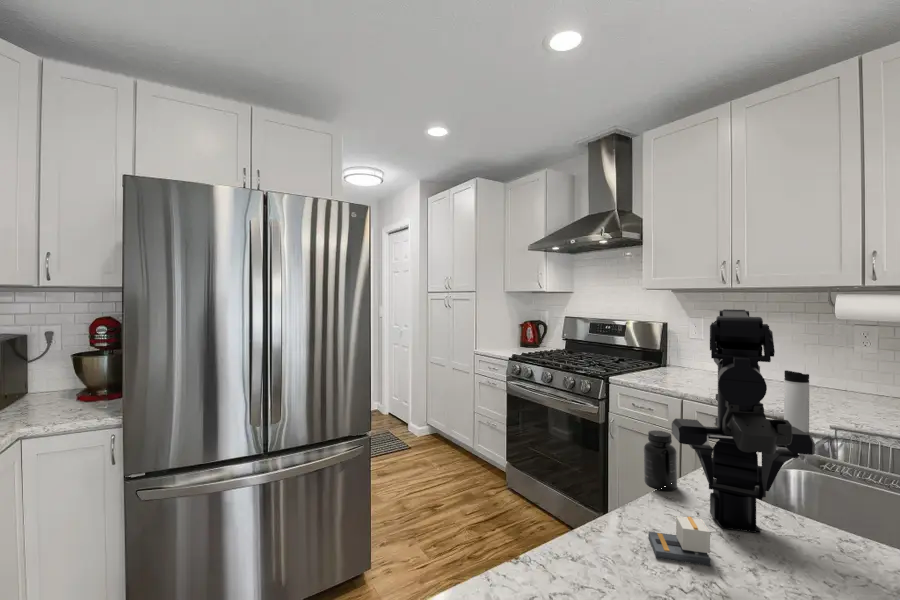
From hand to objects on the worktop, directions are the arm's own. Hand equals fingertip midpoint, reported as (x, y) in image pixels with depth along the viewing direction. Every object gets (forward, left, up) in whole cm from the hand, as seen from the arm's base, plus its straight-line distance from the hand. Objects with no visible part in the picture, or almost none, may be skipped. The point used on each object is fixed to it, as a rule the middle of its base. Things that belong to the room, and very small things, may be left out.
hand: (737, 487), depth 69 cm
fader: (+7, 0, -10) cm, 12 cm away
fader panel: (+9, 0, -12) cm, 15 cm away
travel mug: (-45, -80, -12) cm, 93 cm away
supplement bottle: (+6, -27, -12) cm, 30 cm away
